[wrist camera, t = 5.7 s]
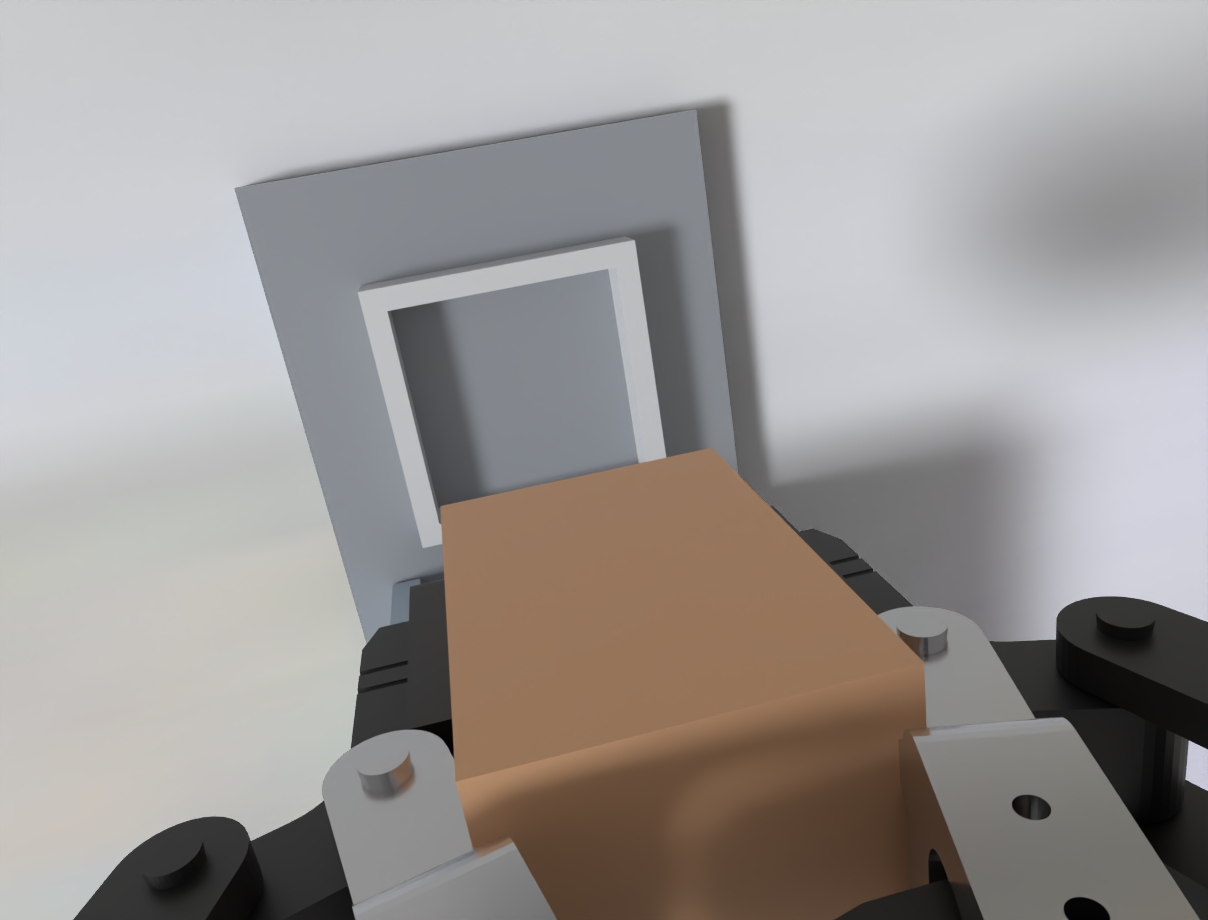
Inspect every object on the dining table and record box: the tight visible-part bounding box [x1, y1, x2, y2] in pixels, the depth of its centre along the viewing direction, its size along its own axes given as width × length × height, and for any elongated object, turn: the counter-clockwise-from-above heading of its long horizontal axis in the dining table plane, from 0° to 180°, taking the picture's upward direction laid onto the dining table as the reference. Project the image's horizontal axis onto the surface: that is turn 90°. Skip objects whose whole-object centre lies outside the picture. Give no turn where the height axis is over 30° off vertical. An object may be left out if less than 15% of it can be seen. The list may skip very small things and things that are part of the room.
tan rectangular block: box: [440, 448, 927, 920], centre depth 11 cm, size 4×4×6 cm
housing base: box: [235, 109, 738, 643], centre depth 27 cm, size 23×12×2 cm, turn 9°
